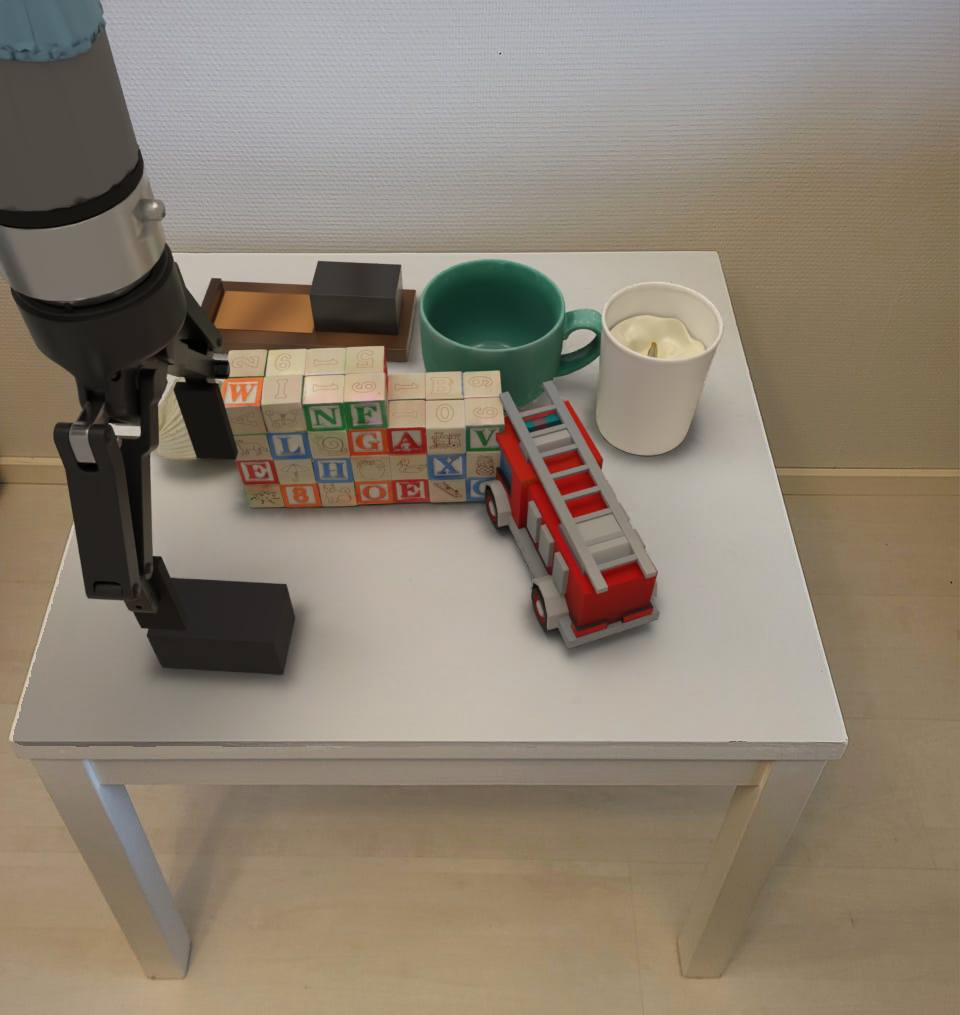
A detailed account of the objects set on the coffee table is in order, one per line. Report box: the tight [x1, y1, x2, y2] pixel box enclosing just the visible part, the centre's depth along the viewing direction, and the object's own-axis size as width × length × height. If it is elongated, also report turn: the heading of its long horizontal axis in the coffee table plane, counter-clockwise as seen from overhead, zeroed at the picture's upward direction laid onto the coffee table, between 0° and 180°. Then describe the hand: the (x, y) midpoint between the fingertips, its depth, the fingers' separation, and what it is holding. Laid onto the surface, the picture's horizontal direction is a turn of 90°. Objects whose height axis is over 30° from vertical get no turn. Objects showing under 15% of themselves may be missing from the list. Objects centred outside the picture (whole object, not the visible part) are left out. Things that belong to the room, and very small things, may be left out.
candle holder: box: [595, 281, 725, 456], centre depth 82 cm, size 10×10×12 cm
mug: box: [418, 258, 602, 412], centre depth 86 cm, size 17×13×10 cm
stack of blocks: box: [221, 346, 505, 509], centre depth 78 cm, size 21×6×12 cm, turn 92°
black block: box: [145, 577, 296, 675], centre depth 70 cm, size 9×5×4 cm, turn 87°
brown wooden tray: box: [200, 260, 417, 363], centre depth 92 cm, size 20×9×6 cm, turn 87°
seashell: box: [153, 377, 223, 461], centre depth 83 cm, size 8×8×8 cm
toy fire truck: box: [484, 380, 660, 650], centre depth 74 cm, size 9×19×10 cm, turn 20°
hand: (193, 534), depth 62 cm, fingers open, 13 cm apart
